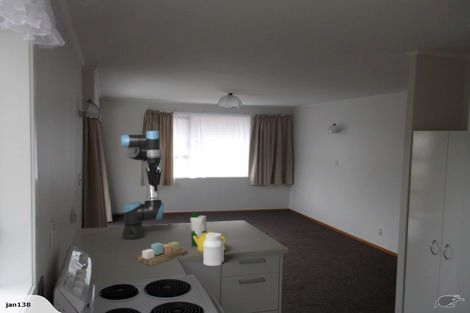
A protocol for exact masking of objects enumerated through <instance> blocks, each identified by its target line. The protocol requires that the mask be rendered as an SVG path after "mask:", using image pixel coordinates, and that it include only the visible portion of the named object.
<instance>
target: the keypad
mask: <svg viewBox="0 0 470 313" xmlns="http://www.w3.org/2000/svg"><path fill="white" fill-rule="evenodd" d="M186 253H187V254H188V251H187V249H185V248H181V247H180V249H178V250H175V251H172V252H169V253H166V254H165V253H161V254H158V255H155V254H154V257H153V258H150V259H145V258H142V253H141V254H138V255H135V261H136V262H137V263H142V264H143V265H146V266H149V267H153V266H156V265H159V264H162V263H164V262H168V261H171V260H173V258H174V259H176V258H175V257H177V256H180V255H183V254H186ZM187 254H186V255H187ZM183 256H184V255H183ZM180 257H181V256H180ZM177 258H178V257H177Z"/></svg>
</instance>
